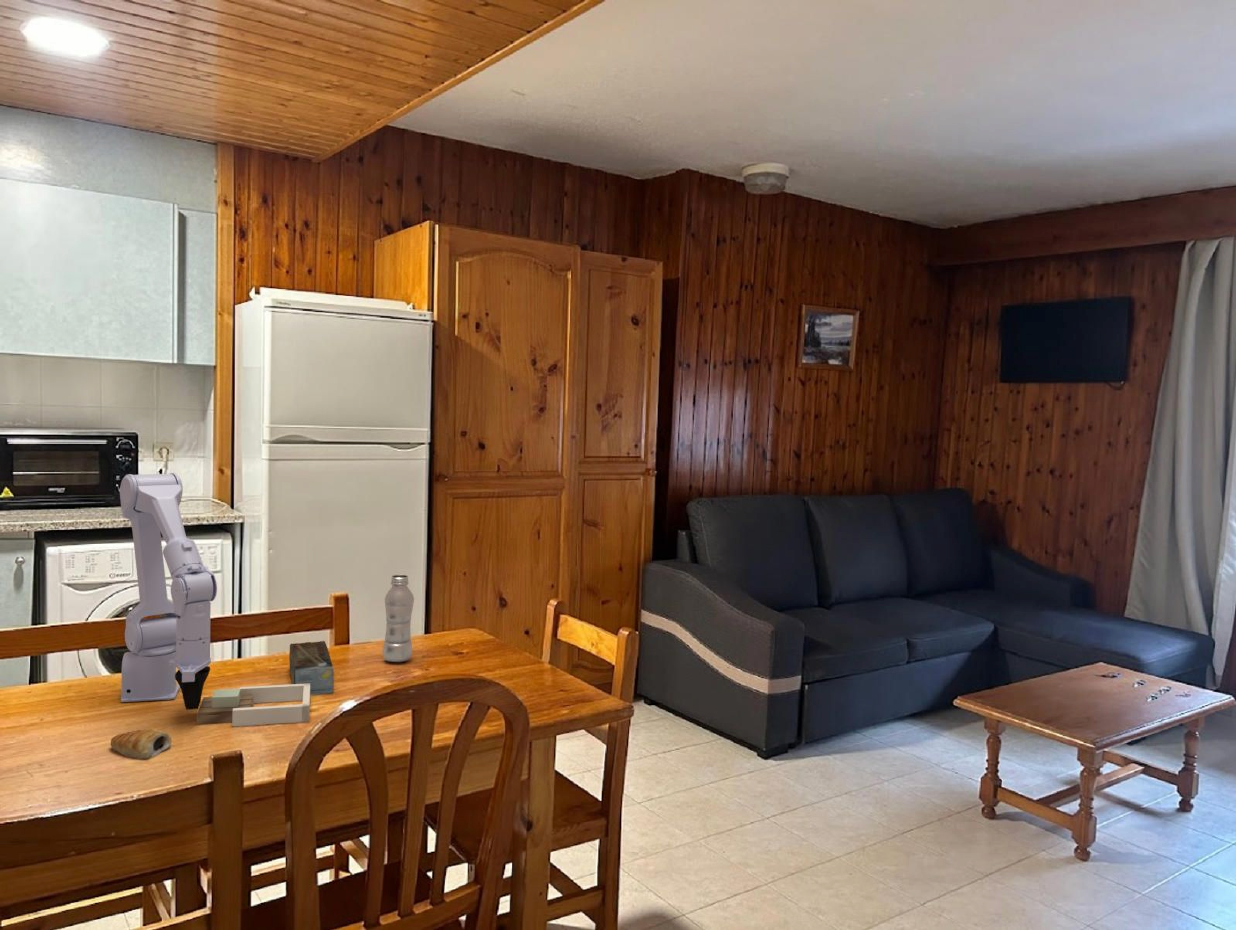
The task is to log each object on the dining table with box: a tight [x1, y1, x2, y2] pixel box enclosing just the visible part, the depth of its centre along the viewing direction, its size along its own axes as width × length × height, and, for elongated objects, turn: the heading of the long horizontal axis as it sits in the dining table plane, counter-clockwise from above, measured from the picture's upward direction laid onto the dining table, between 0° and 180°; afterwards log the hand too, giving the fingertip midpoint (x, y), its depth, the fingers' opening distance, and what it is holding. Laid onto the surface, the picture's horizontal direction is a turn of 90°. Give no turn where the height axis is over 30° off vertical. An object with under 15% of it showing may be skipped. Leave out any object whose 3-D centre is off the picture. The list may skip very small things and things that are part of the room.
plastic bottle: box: [382, 574, 415, 663], centre depth 205 cm, size 6×7×20 cm
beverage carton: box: [288, 640, 335, 696], centre depth 189 cm, size 8×19×7 cm, turn 23°
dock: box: [231, 683, 311, 727], centre depth 170 cm, size 13×13×3 cm
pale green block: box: [211, 688, 241, 708], centre depth 168 cm, size 4×4×2 cm
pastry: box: [110, 728, 172, 760], centre depth 150 cm, size 9×7×4 cm
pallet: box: [196, 694, 254, 726], centre depth 168 cm, size 9×9×3 cm
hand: (192, 708), depth 166 cm, fingers closed
